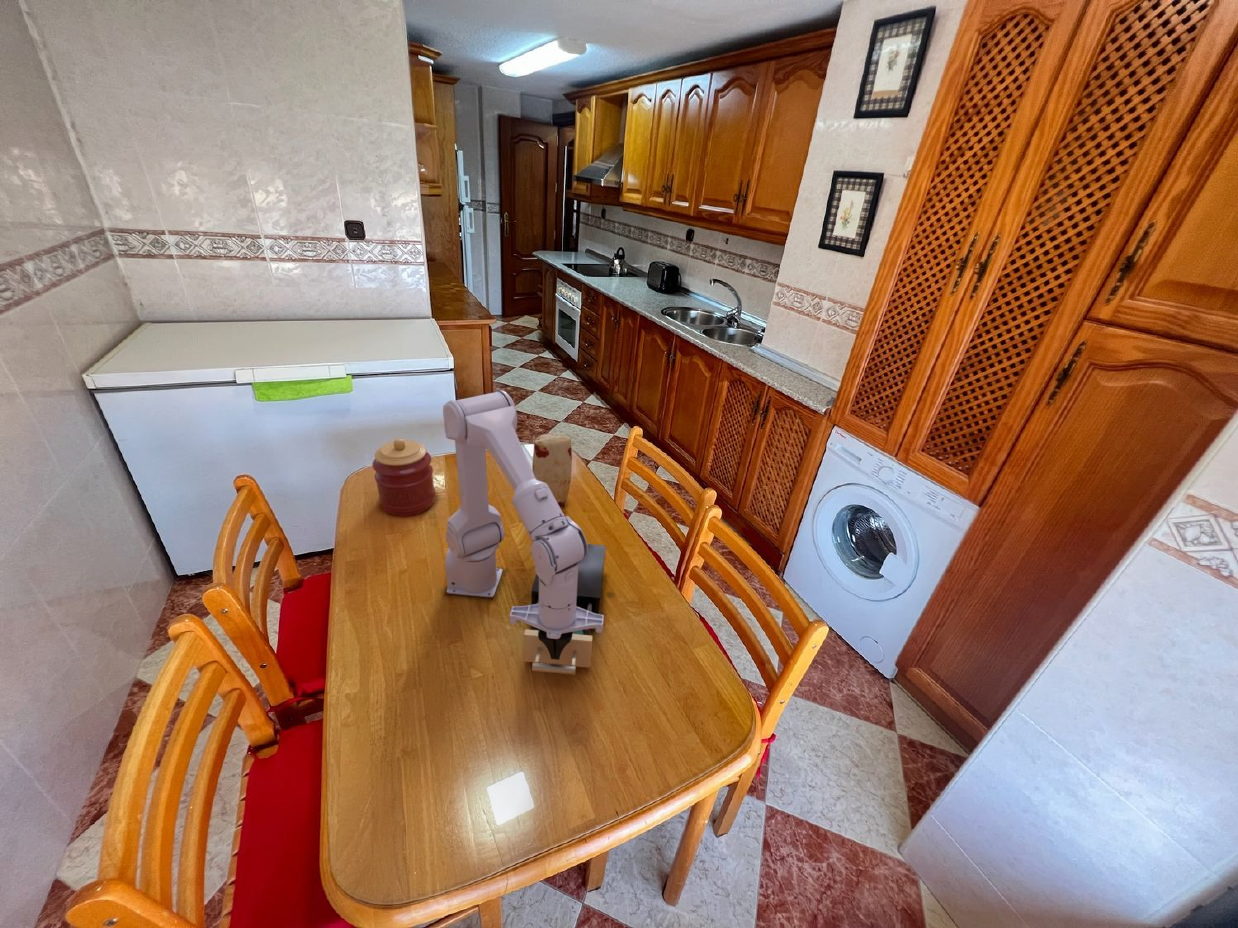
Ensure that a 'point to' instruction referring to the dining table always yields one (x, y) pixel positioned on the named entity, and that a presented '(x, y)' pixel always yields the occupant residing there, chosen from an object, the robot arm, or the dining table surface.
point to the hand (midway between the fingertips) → (556, 654)
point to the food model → (553, 464)
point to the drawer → (570, 655)
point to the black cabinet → (585, 577)
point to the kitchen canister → (404, 477)
